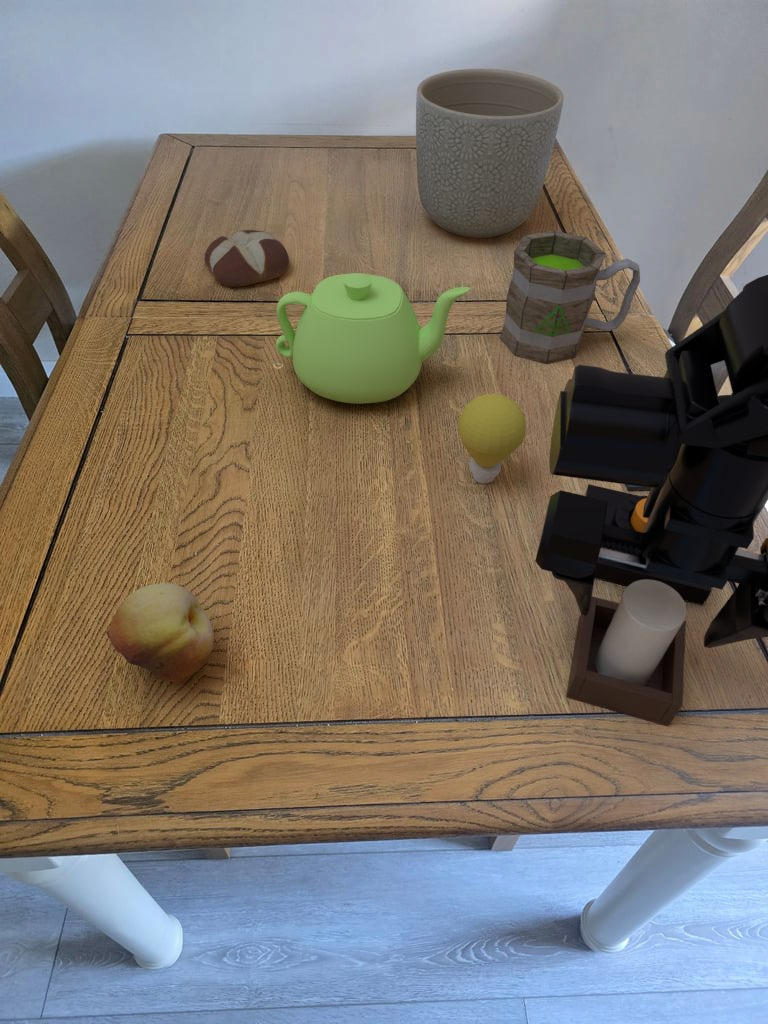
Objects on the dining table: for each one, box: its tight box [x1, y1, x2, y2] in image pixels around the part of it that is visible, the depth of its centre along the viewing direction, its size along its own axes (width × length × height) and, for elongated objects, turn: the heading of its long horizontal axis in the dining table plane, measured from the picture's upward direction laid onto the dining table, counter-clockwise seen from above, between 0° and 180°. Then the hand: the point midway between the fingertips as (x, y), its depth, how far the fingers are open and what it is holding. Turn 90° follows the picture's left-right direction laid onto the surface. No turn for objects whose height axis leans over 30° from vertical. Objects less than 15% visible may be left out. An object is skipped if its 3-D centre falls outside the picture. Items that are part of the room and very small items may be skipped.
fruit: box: [106, 582, 215, 683], centre depth 56 cm, size 8×8×8 cm
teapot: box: [275, 272, 470, 405], centre depth 81 cm, size 22×15×13 cm
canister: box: [595, 580, 688, 686], centre depth 56 cm, size 5×5×9 cm
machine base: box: [584, 483, 713, 606], centre depth 67 cm, size 12×10×4 cm
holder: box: [565, 596, 687, 727], centre depth 58 cm, size 8×8×4 cm
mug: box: [499, 230, 641, 365], centre depth 88 cm, size 16×11×12 cm
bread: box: [204, 229, 290, 288], centre depth 101 cm, size 11×11×5 cm
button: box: [631, 498, 649, 533], centre depth 65 cm, size 4×4×2 cm
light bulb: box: [457, 393, 527, 485], centre depth 71 cm, size 7×7×10 cm
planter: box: [415, 68, 565, 239], centre depth 107 cm, size 21×21×19 cm
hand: (644, 626), depth 55 cm, fingers open, 9 cm apart
